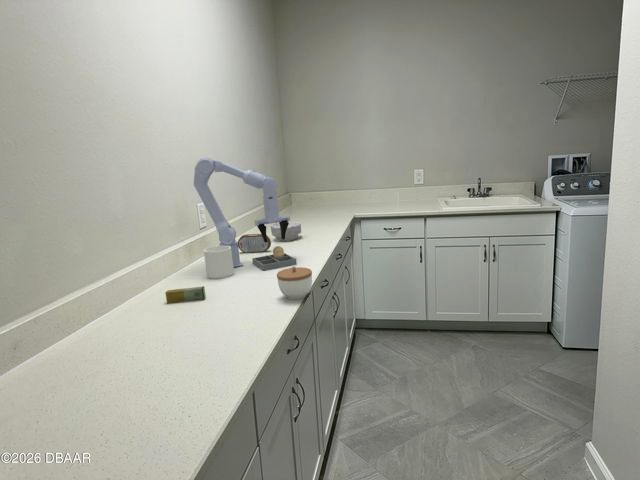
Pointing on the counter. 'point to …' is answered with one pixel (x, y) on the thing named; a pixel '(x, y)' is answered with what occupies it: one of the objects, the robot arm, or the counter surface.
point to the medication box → (185, 295)
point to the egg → (278, 252)
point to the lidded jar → (295, 282)
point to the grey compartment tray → (273, 262)
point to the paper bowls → (291, 231)
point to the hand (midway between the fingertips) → (274, 240)
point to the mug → (219, 262)
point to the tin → (253, 243)
